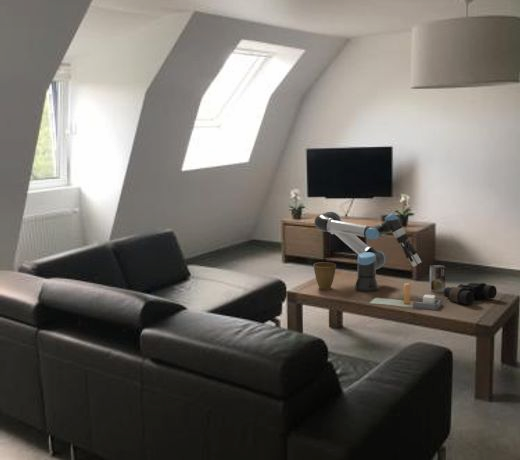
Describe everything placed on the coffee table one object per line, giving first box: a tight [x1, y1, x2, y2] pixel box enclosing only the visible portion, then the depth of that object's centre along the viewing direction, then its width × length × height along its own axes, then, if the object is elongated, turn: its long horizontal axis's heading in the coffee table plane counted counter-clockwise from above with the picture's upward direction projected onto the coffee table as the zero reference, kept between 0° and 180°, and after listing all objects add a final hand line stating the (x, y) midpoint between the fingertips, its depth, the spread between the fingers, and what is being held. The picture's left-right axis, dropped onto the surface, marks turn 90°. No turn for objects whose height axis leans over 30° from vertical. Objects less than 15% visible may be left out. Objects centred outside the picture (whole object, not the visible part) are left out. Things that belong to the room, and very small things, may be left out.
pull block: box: [403, 282, 436, 305], centre depth 364 cm, size 18×6×12 cm, turn 63°
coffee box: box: [428, 264, 446, 293], centre depth 397 cm, size 9×6×16 cm
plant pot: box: [313, 261, 337, 290], centre depth 409 cm, size 15×15×16 cm
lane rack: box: [369, 297, 442, 311], centre depth 368 cm, size 40×12×4 cm, turn 63°
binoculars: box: [443, 282, 498, 306], centre depth 375 cm, size 29×20×10 cm
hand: (417, 264), depth 398 cm, fingers open, 13 cm apart
